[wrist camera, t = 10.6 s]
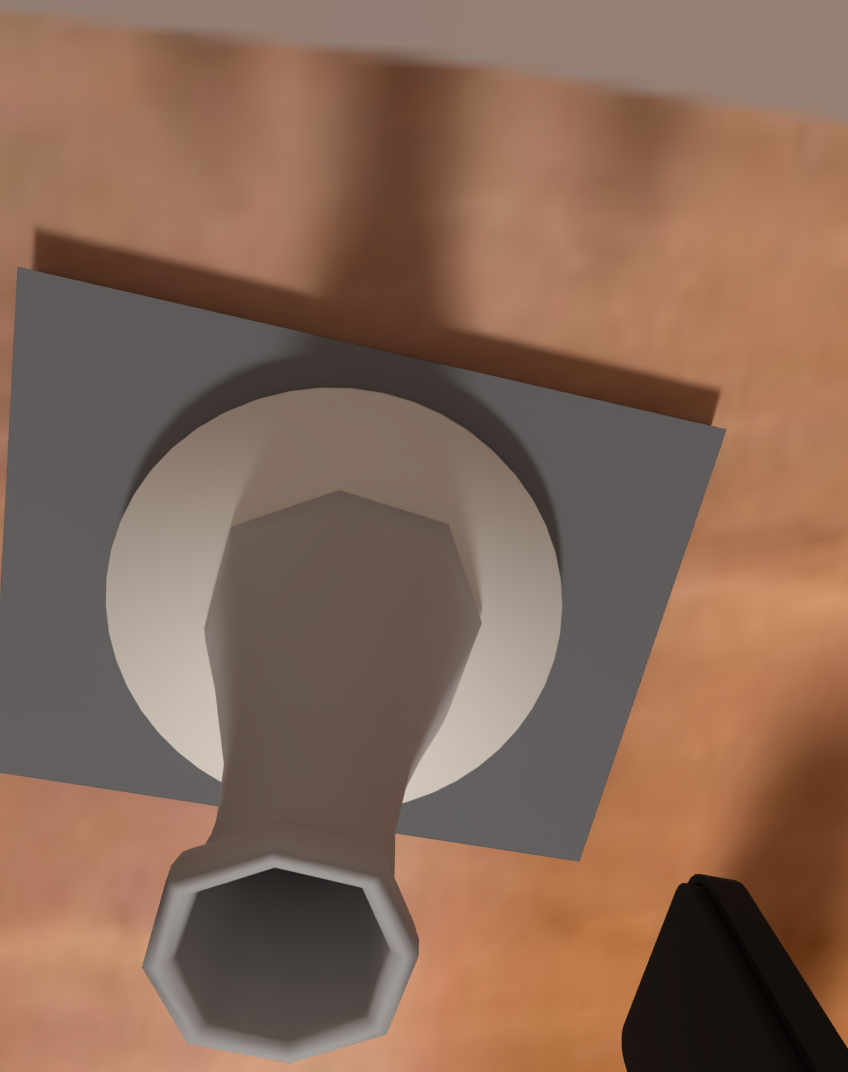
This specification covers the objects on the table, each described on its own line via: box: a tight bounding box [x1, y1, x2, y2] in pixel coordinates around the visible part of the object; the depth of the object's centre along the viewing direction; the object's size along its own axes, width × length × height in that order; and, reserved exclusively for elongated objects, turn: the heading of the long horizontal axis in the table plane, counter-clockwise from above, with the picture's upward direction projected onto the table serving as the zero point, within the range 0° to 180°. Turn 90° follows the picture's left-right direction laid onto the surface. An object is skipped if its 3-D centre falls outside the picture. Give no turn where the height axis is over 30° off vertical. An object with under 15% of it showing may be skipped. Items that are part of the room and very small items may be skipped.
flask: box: [142, 490, 482, 1063], centre depth 12 cm, size 7×7×10 cm
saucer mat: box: [0, 267, 726, 861], centre depth 18 cm, size 18×14×2 cm
